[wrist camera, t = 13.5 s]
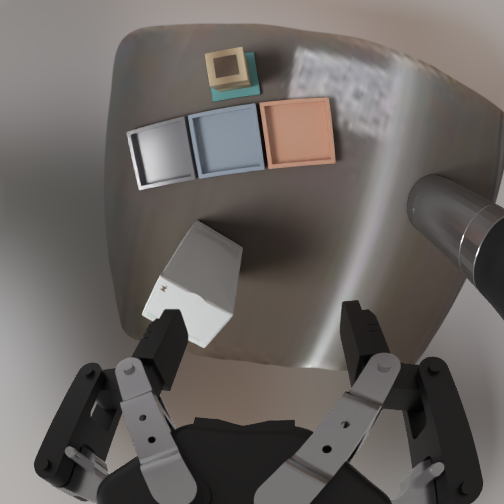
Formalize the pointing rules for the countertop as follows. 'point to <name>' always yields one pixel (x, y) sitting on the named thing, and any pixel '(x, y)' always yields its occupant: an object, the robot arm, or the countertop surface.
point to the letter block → (228, 69)
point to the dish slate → (227, 141)
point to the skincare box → (199, 283)
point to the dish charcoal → (163, 153)
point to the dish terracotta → (298, 132)
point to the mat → (244, 91)
